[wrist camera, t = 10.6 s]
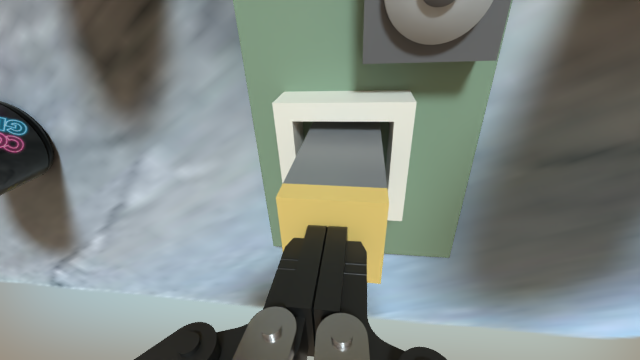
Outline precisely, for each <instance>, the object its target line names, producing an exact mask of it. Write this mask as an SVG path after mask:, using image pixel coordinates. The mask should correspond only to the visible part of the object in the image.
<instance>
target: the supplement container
mask: <svg viewBox="0 0 640 360" xmlns="http://www.w3.org/2000/svg"><path fill="white" fill-rule="evenodd" d="M53 157H54V153H53V147H52V144H51V142H50V140H49V138H48V136H47V135H46V133H45V132H44V130H43V129H42V128H41V127H40V125H39V124H38V123H37V122H36V121H35V120H34V119H33V118H31V117H30V116H29V115H28V114H26V113H25V112H24V111H22V110H20V109H19V108H17V107H15V106H13V105H10V104H8V103H5V102H2V101H0V195H2V194H4V193H6V192H8V191H10V190H12V189H14V188H16V187H18V186H20V185H22V184H24V183H27V182H29V181H31V180H33V179H35V178H37V177H39V176H41V175H43V174H44V173H46V172H47V171H48V169H49V168H50V167H51V165H52V162H53Z"/></svg>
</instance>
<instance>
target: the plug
mask: <svg viewBox="0 0 640 360" xmlns="http://www.w3.org/2000/svg"><path fill="white" fill-rule="evenodd" d="M276 203H277V210H278V218H279V226H280V233H281V241H282V249H283V251H284V248H285V246H286V245H287V244H288V243H289V242H290V241H291V240H292V239H293V238H304V237H305V233H306V230H307V226H308V225H320V226H327V227H328V226H341V227H348V241H360V242H362V244H363V246H364V248H365V250H366V252H367V283H378V284H381V275H382V265H383V256H384V247H385V237H386V228H387V219H388V210H389V198H388V189H387V181H386V172H385V163H384V155H383V146H382V138H381V129H380V122H330V121H313V123H312V125H311V127H310V129H309V131H308V133H307V135H306V137H305V139H304V142H303V144H302V146H301V148H300V150H299V152H298V154H297V156H296V158H295V160H294V162H293V164H292V166H291V168H290V170H289V172H288V174H287V176H286V178H285V180H284V182H283V184H282V186H281V188H280V190H279V192H278V194H277V196H276Z"/></svg>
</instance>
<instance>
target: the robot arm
mask: <svg viewBox="0 0 640 360" xmlns="http://www.w3.org/2000/svg"><path fill="white" fill-rule="evenodd" d="M307 356H314V360H447V359H446V358H445V357H443V356H442V355H441V354H439V353H438V352H436V351H434V350H432V349H429V348H425V347H414V348H411V349H409V350H407V351H403V350H401V349H398V348H396V347H394V346H392V345H390V344H388V343H386V342H384V341H383V340H381V339H380V338H379V337H378V336H376V334H375V333H374V332H373V330H372V329H371V327H370V325H369V323H368V319H367V252H366V250H365V248H364V246H363V244H362V242H360V241H348V227H341V226H328V227H327V226H320V225H308V226H307V230H306V233H305V237H304V238H293V239H292V240H291V241H290V242H289V243H288V244H287V245H286V246H285V248H284V251H283V254H282V257H281V260H280V263H279V266H278V270H277V271H276V274H275V277H274V280H273V283H272V286H271V289H270V292H269V295H268V297H267V300H266V303H265V306H264V308H263V310H261V311H260V312H259V313H257V314H256V315H255V316H254V317H253V318H252V319H251V321H250V322H249V323H248V324H246V325H244V326H242V327H238V328H235V329H230V330H225V331H221V332H215V330H214V328H213V327H212V326H211V325H209V324H207V323H203V322H195V323H191V324H188V325H186V326H184V327H182V328H180V329H179V330H177V331H176V332H174V333H173V334H171V335H170V336H168V337H167V338H165V339H164V340H163V341H161V342H160V343H158V344H156V345H155V346H154V347H152V348H151V349H149V350H148V351H146V352H145V353H143V354H142V355H140V356H139V357H137V358H136V359H134V360H307Z"/></svg>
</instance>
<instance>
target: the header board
mask: <svg viewBox="0 0 640 360" xmlns="http://www.w3.org/2000/svg"><path fill="white" fill-rule="evenodd" d="M233 3H234V9H235V15H236V21H237V27H238V33H239V39H240V45H241V51H242V57H243V63H244V70H245V76H246V82H247V88H248V94H249V100H250V106H251V112H252V118H253V124H254V130H255V136H256V142H257V148H258V154H259V160H260V166H261V172H262V178H263V184H264V190H265V196H266V202H267V208H268V214H269V221H270V227H271V233H272V239H273V245H274V246H281V247H282V241H281V233H280V226H279V218H278V210H277V203H276V196H277V194H278V192H279V190H280V188H281V186H282V184H283V182H284V180H285V178H286V176H287V174H288V172H289V170H290V168H291V166H292V164H293V162H294V160H295V158H296V156H297V154H298V152H299V150H300V148H301V146H302V144H303V142H304V139H305V137H306V135H307V133H308V131H309V129H310V127H311V125H312V123H313V121H330V122H380V129H381V138H382V146H383V155H384V163H385V172H386V181H387V189H388V198H389V210H388V219H387V228H386V237H385V247H384V253H386V254H400V255H415V256H430V257H445V258H449V256H450V252H451V248H452V244H453V240H454V236H455V232H456V228H457V224H458V220H459V216H460V212H461V208H462V204H463V199H464V195H465V191H466V187H467V183H468V179H469V175H470V171H471V167H472V163H473V159H474V155H475V151H476V147H477V143H478V138H479V134H480V130H481V126H482V122H483V118H484V114H485V110H486V106H487V102H488V98H489V94H490V90H491V86H492V82H493V78H494V73H495V69H496V65H497V61H498V57H499V53H500V49H501V45H502V41H503V37H504V33H505V29H506V25H507V21H508V17H509V12H510V8H511V4H512V0H233Z"/></svg>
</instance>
